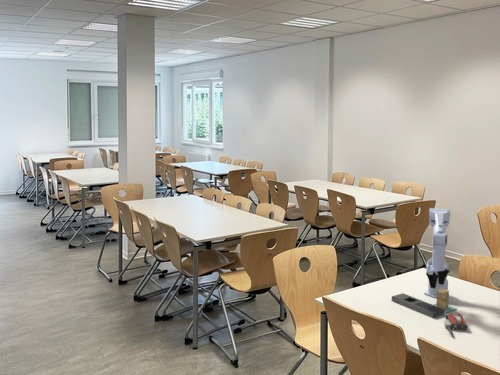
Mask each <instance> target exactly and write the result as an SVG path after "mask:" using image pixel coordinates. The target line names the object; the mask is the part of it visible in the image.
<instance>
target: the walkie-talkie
mask: <svg viewBox="0 0 500 375" xmlns="http://www.w3.org/2000/svg"><path fill="white" fill-rule="evenodd" d="M444 315H445V314H444ZM444 317H445V320H444V321H443V322H444V323H443V324H444V328H445V330H448V332H449V335H450V336H454V333H453V331H462V332H464V331H465V332H466V331H468V324H467V322H466V320H465V319H464V317H463V315H462V314H460V313H451V312H448V313H447V314H446V315H445V316H444Z"/></svg>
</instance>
